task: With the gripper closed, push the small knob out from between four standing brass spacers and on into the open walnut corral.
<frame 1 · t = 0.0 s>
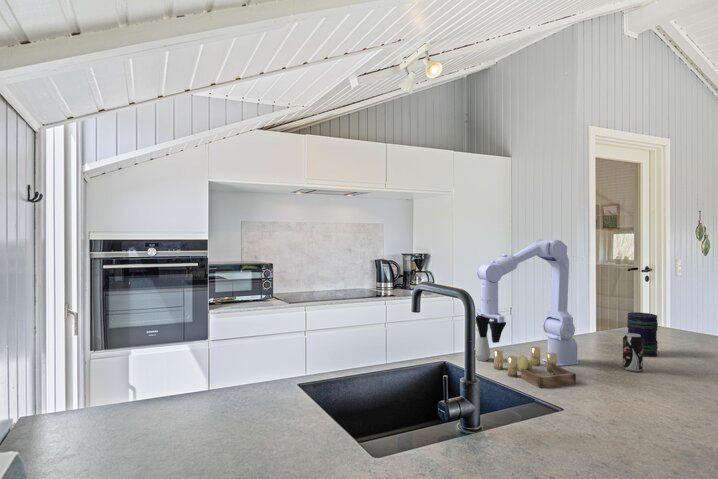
hand: (489, 339, 149), 10 cm above the countertop, tool pointing down, fingers open, 7 cm apart
salt shaker: (482, 360, 161), on the countertop
storage jar: (642, 354, 169), on the countertop
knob: (524, 370, 149), on the countertop
spacer field: (524, 370, 149), on the countertop
corral: (546, 380, 138), on the countertop
beverage can: (632, 370, 148), on the countertop
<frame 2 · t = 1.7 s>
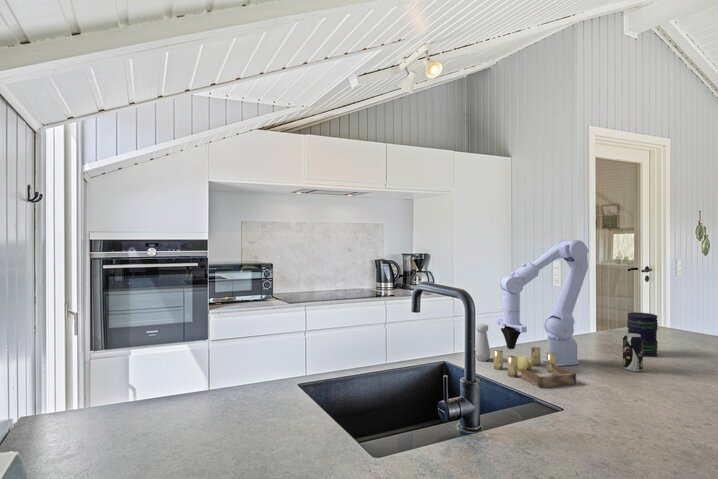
hand: (510, 348, 156), 5 cm above the countertop, tool pointing down, fingers closed
nothing on the countertop moved.
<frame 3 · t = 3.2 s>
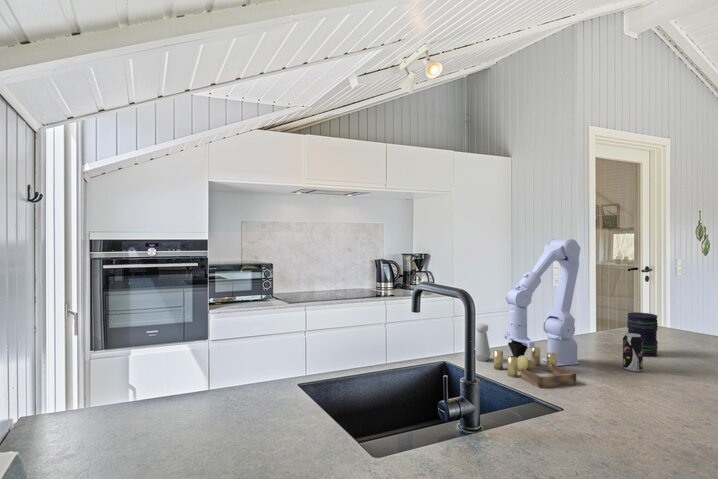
hand: (518, 363, 152), 1 cm above the countertop, tool pointing down, fingers closed
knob: (524, 370, 149), on the countertop, touching gripper
everything else where it was.
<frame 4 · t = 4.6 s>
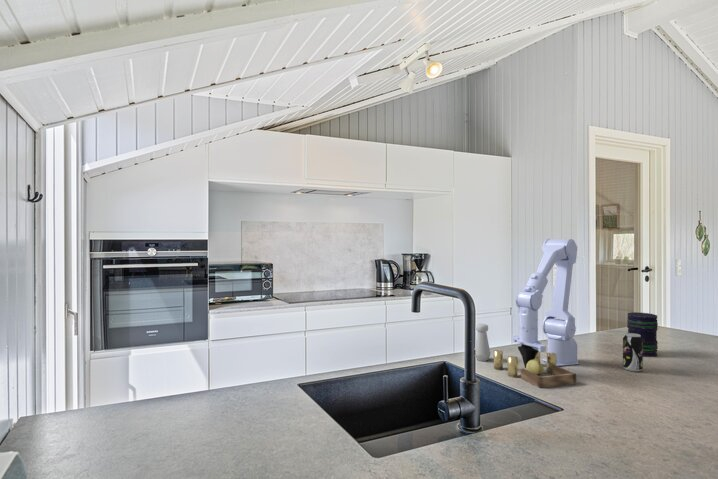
hand: (528, 368, 147), 1 cm above the countertop, tool pointing down, fingers closed
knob: (535, 375, 143), on the countertop, touching gripper
everything else where it was.
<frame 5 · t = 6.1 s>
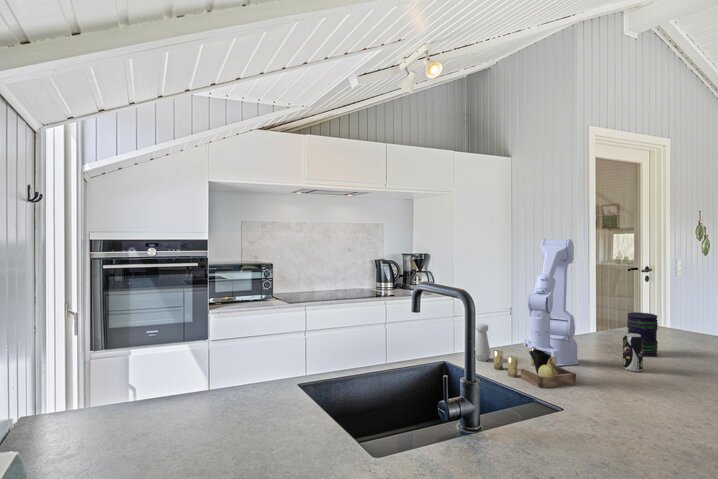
hand: (540, 373, 141), 1 cm above the countertop, tool pointing down, fingers closed
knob: (547, 381, 138), on the countertop, touching gripper
everything else where it was.
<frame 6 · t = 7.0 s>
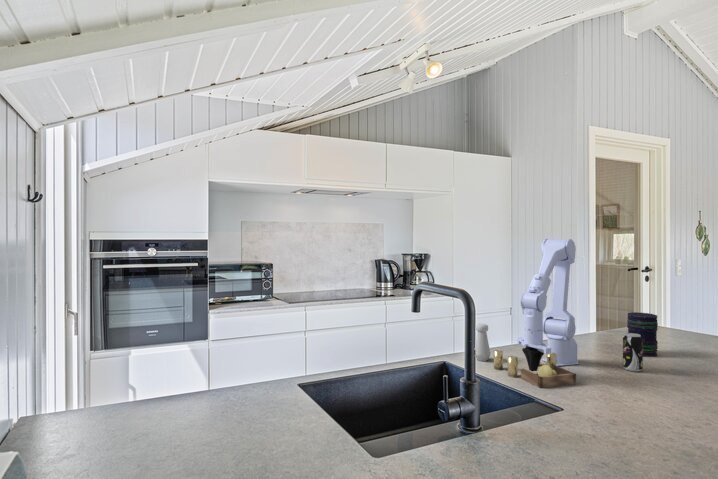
hand: (533, 370, 144), 1 cm above the countertop, tool pointing down, fingers closed
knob: (547, 381, 138), on the countertop
everything else where it was.
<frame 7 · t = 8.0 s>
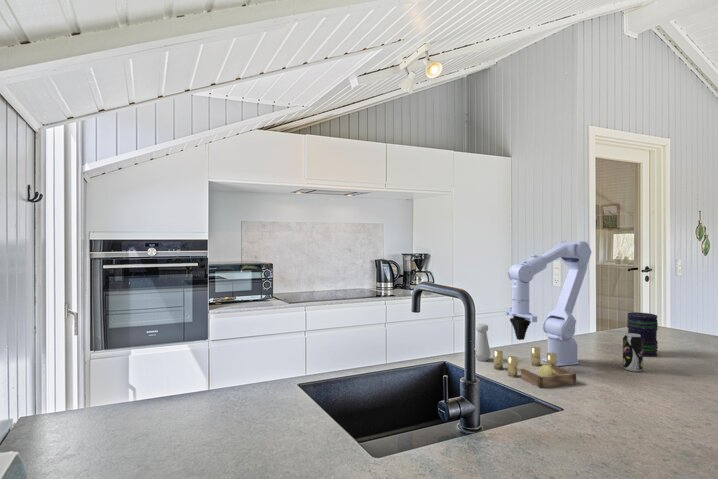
hand: (520, 339, 151), 10 cm above the countertop, tool pointing down, fingers closed
nothing on the countertop moved.
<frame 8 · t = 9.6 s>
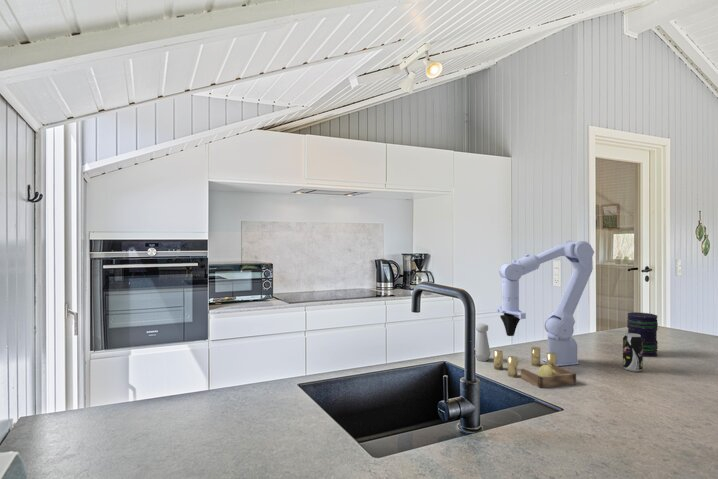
hand: (510, 335, 156), 10 cm above the countertop, tool pointing down, fingers closed
nothing on the countertop moved.
at the end: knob inside the target area on the corral (0.3 cm from its centre), point 0.0 cm above the corral's base; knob touching countertop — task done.
